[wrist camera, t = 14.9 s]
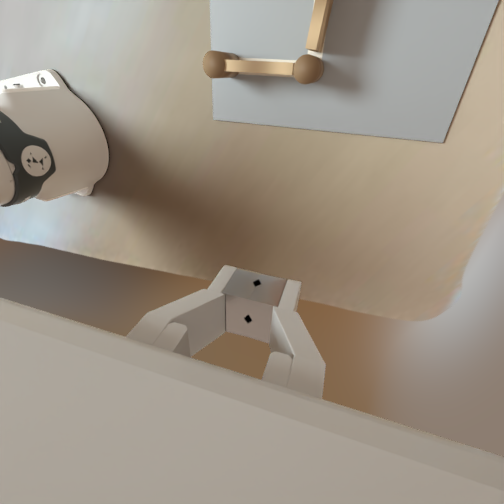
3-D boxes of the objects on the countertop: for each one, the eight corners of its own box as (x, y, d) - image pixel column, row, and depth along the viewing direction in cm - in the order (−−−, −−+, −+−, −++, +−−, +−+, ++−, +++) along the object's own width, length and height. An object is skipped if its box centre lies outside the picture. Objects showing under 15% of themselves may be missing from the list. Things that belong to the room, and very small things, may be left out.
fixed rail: (221, 77, 34) (203, 77, 30) (221, 52, 33) (202, 49, 29) (322, 83, 31) (316, 85, 27) (326, 56, 30) (320, 54, 26)
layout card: (213, 119, 37) (213, 119, 37) (206, -152, 25) (205, -154, 25) (442, 142, 31) (442, 142, 31) (578, -204, 19) (580, -207, 19)
